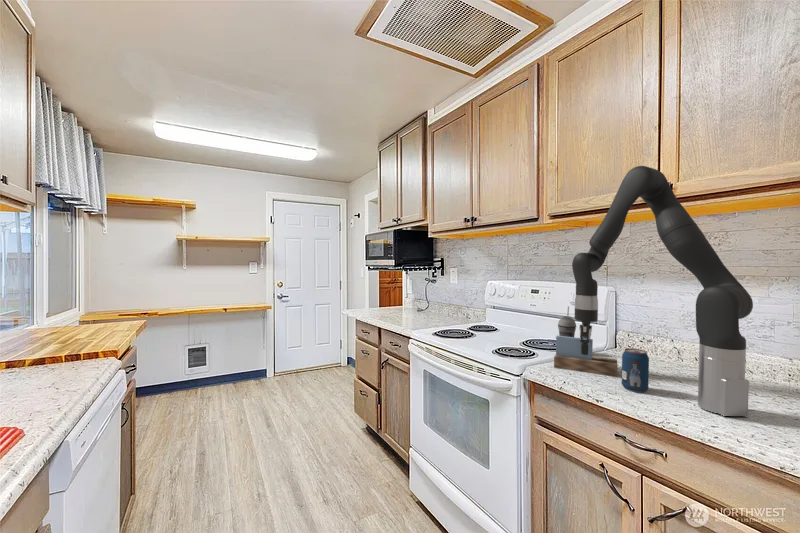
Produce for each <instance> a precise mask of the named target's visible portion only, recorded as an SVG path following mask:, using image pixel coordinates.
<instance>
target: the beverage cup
mask: <svg viewBox="0 0 800 533" xmlns="http://www.w3.org/2000/svg"><path fill="white" fill-rule="evenodd" d="M566 311H567V313H566V316H562V317H561V318H560V319H559V320H558V323H557V328H558V334H559V335H558V336H566V337H575V335H576V329H577V324H576V320H575V318H573V317H571V316H569V313H570V306H567V310H566Z"/></svg>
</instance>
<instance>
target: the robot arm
mask: <svg viewBox="0 0 800 533" xmlns="http://www.w3.org/2000/svg"><path fill="white" fill-rule="evenodd" d="M639 198H641V199H642V200H643V201H644V202H645V203H646V204H647V206H648V208H650V211H651V212H652V214H653V216H654V219H655V224H656V230H657V234H658V237H659V239H660V240H661V241H662V244H663V245H664V246H665V248H666V250H667V252H668V253H669V254H670V255H671V256H672V257H673V258H674V259H675V260H676V261H677V262H679V264H681V265H682V266H683V267H684V268H686V269H687V270H688V271H689V272H690V273H691V274H692V275H693V276H695V278H696V279H697V281H698V282H699V284H700V285H701V286H702V288H703V289H702V290H701V291H700V292H699V293H698V295H697V297H696V300H695V330H696V333H697V336H698V337H699V338H698V339H699V341H698V343H699V347H698V350H699V351H698V377H697V378H698V382H697V383H698V384H697V406H698V405H699V406H700V407H701V408H700V407H699V406H698V407H699V408H700V409H702V408H703V409H702V410H704V409H706V410H709V411H712V412H715V413H719V414H722V415H724V416H748V417H749V393H750V392H749V390H750V388H749V387H750V386H749V385H750V381H749V380H748V379H747V378H746V359H747V357H746V356H747V340H746V337H744V336H743V335H742V334H741V332H740V320H741V319H744V318H746V317H748V316H749V315H750V314H751V313H752V311H753V307H754V302H753V298H752V296H751V295H750V293H749V292H748V290H747V289H745V287H744V286H743V285H742V283H741V282H739V280H737V278H736V277H735V276H734V275H733V274H732V273H731V272H730V270H729V269H728V268H727V267H726V266H725V264H724V263H723V261H722V260H721V258H720V257H719V255H718V253H717V252H716V251H715V249H714V248H713V246H712V245H711V243H710V242H709V241H708V239H707V238H706V236H705V234H704V233H703V231H702V230H701V228H700V227H699V226H698V224H697V223H696V222H695V220H694V219H693V218H692V216H691V215H690V214H689V212H688V211H687V210H686V208H685V207H684V205H682V204H681V202H680V201H679V199H677V196H676V195H675V193H674V191H673V189H672V187H671V185H670V183H669V181H668V179H667V178H666V176H665V174H664V173H663V172H661V171H660V170H658V169H656V168H653V167H649V166H645V165H638V166H635V167H632V168H630V170H628V171H627V173H626V174H625V176H624V177H623V179H622V181H621V183H620V185H619V187H618V189H617V192H616V194H615V196H614V199H613V200H612V202H611V204H610V206H609V209H608V210H607V213H606V214H605V216H604V218H603V219H602V221H601V223H600V224H599V226H598V227H597V229H596V230H595V232H594V233H593V234H592V236H591V237H590V239H589V242H588V243H589V246H590V249H589V250H588V252H578V253H577V254H575V256H574V257H573V259H572V263H571V264H572V265H571V266H572V267H571V268H572V273H573V277H574V281H575V298H574V321H579V322H581V324H580V325H579V328H578V329H579V338H581V340H580V342H581V354H583V355H588V345H589V339H592V338H591V336H592V333H593V332H592V331H593V325H591V323H596V322H598V320H599V319H598V318H599V314H598V313H599V301H598V300H599V299H598V291H599V290H598V288H599V287H598V282H597V280H596V279H593V273H594V272H597V271H598V270H600V269H601V267H602V266H604V263H605V261H606V259H607V257H608V255H609V251H610V249H611V248H612V247H613V245H614V244H615V242H616V241H617V240H618V238H619V237H620V235H621V234H622V231H623V229H624V226H625V222H626V219H627V217H628V216H627V215H628V213H629V211H630V209H631V208H632V206H633V205H634V203H635V202H636V201H637V200H638V199H639ZM583 338H585V339H587V340H583ZM706 410H705V411H706ZM709 411H708V412H709ZM712 412H711V413H712ZM715 413H714V414H715ZM719 414H718V415H719ZM722 415H721V416H722ZM724 416H723V417H724Z"/></svg>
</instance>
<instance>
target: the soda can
mask: <svg viewBox="0 0 800 533" xmlns="http://www.w3.org/2000/svg"><path fill="white" fill-rule="evenodd" d="M649 372H650V357H649V356H648V352H647V351H646V350H643V349H639V348H630V347H629V348H624V351H623V353H622V354H621V386H623V388H624V389H625V390H626V391H630V392H633V393H640V394H641V393H645V392H647V390H648V388H649V381H650V380H649V379H650V378H649V377H650V376H649Z"/></svg>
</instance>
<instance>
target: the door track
mask: <svg viewBox="0 0 800 533" xmlns="http://www.w3.org/2000/svg"><path fill="white" fill-rule="evenodd" d="M618 366H619V365H618V360H617V359H616V358H607V357H598V356H593V355H592V360H587V359H580V358H572V357H565V356H557V355H556V354H555V355H554V357H553V368H554V369H555V368H556V369H563V370H568V371H576V372H583V373H588V374H596V375H603V376H610V377H618Z"/></svg>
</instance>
